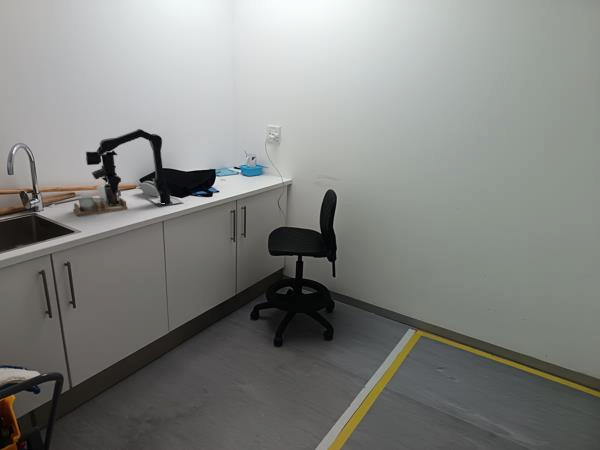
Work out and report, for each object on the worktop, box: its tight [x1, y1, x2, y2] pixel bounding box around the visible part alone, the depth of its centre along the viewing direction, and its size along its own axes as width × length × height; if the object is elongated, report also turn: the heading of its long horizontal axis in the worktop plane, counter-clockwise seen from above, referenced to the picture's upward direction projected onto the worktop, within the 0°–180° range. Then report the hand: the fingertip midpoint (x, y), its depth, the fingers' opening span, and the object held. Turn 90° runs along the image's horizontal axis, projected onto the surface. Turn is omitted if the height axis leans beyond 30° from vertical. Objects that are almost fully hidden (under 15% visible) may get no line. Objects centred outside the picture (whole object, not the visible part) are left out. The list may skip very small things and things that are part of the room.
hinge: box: [140, 180, 160, 198], centre depth 252 cm, size 17×5×10 cm, turn 54°
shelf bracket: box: [96, 185, 122, 204], centre depth 234 cm, size 6×25×13 cm, turn 45°
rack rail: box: [72, 196, 129, 217], centre depth 218 cm, size 10×25×8 cm, turn 129°
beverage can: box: [103, 182, 120, 206], centre depth 220 cm, size 7×7×12 cm
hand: (112, 192), depth 220 cm, fingers closed on beverage can, 7 cm apart
